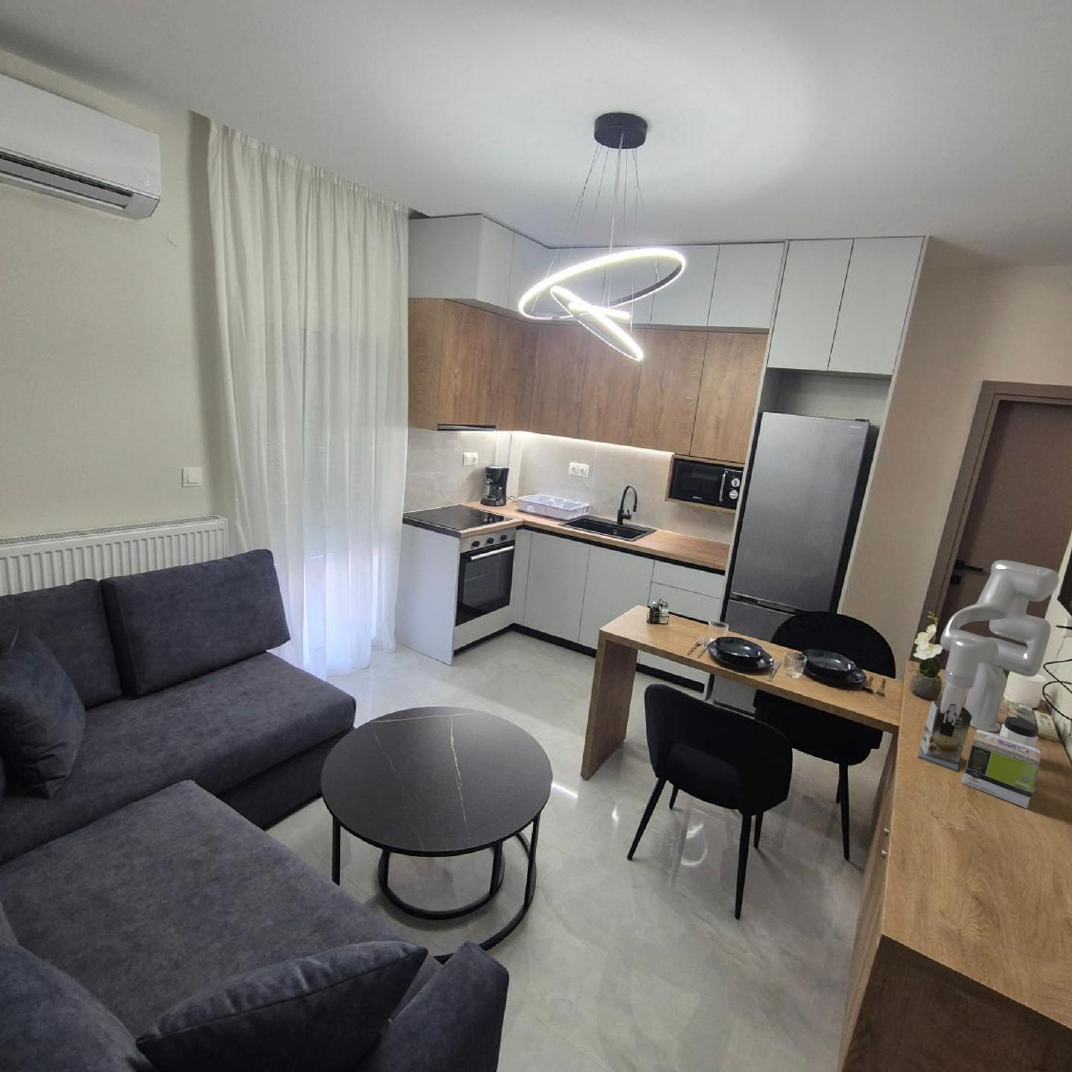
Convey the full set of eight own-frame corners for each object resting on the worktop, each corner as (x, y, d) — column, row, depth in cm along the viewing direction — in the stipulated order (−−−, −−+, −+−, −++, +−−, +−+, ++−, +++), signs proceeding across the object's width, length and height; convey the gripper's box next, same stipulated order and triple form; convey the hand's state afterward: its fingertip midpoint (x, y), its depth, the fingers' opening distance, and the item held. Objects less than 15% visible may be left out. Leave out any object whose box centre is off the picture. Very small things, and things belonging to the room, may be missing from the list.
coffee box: (925, 755, 178) (937, 708, 175) (919, 744, 184) (931, 699, 181) (959, 763, 175) (972, 716, 172) (953, 752, 181) (965, 706, 178)
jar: (1032, 759, 183) (1043, 725, 180) (1027, 768, 178) (1037, 733, 175) (998, 745, 190) (1007, 713, 187) (992, 753, 184) (1001, 720, 182)
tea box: (1029, 794, 164) (1043, 748, 161) (1027, 810, 157) (1041, 762, 153) (965, 769, 174) (977, 726, 171) (960, 783, 166) (973, 738, 163)
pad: (921, 742, 187) (921, 740, 187) (958, 755, 182) (958, 752, 181) (918, 757, 178) (918, 755, 178) (957, 771, 172) (957, 769, 172)
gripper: (945, 665, 183) (933, 713, 187) (942, 684, 170) (929, 735, 174) (974, 673, 179) (961, 722, 183) (973, 692, 165) (960, 745, 169)
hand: (946, 728), depth 178 cm, fingers open, 9 cm apart
